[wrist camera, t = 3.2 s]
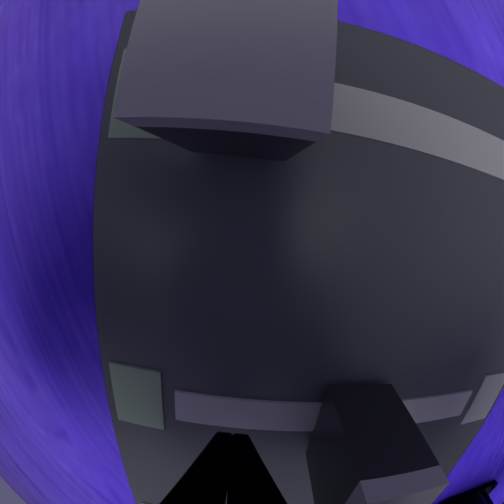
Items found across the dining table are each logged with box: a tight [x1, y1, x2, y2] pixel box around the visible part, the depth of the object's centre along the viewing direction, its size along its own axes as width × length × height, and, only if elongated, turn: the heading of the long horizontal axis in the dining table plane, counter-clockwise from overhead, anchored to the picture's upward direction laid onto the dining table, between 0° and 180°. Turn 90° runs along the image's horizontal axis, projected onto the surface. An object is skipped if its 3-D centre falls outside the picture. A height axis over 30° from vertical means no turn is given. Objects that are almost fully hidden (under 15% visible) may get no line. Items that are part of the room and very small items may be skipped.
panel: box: [93, 10, 504, 504], centre depth 9 cm, size 15×22×2 cm
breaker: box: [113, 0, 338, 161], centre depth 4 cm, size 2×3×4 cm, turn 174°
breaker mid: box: [306, 384, 450, 504], centre depth 6 cm, size 2×3×4 cm, turn 174°
